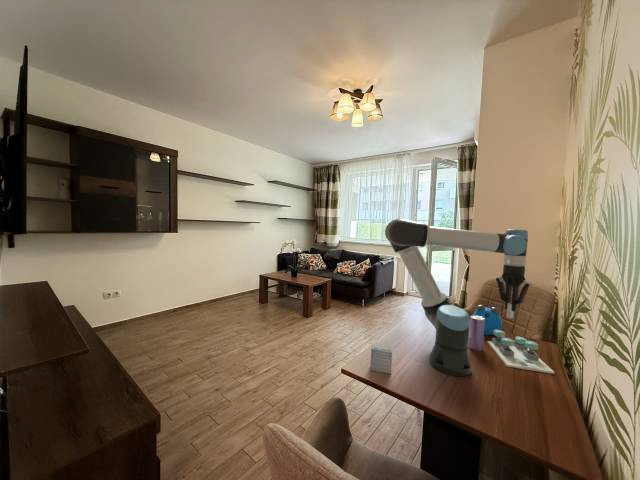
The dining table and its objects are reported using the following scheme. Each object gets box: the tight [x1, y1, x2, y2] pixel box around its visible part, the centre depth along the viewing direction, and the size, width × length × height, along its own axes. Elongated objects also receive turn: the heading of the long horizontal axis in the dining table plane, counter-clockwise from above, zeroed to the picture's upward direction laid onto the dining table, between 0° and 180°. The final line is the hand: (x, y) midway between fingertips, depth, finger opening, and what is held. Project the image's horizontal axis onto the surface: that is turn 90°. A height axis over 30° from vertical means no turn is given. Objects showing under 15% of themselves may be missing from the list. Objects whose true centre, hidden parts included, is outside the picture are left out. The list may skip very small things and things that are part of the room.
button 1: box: [501, 337, 515, 349], centre depth 112 cm, size 4×4×4 cm
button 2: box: [525, 340, 539, 353], centre depth 110 cm, size 4×4×4 cm
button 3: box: [494, 330, 506, 340], centre depth 121 cm, size 4×4×4 cm
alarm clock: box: [473, 304, 503, 336], centre depth 135 cm, size 13×6×15 cm, turn 53°
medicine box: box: [369, 344, 393, 375], centre depth 99 cm, size 8×4×9 cm, turn 74°
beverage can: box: [467, 314, 485, 352], centre depth 118 cm, size 6×6×15 cm
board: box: [487, 337, 555, 375], centre depth 112 cm, size 16×22×3 cm
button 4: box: [514, 335, 528, 345], centre depth 119 cm, size 4×4×4 cm
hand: (509, 317), depth 111 cm, fingers closed
